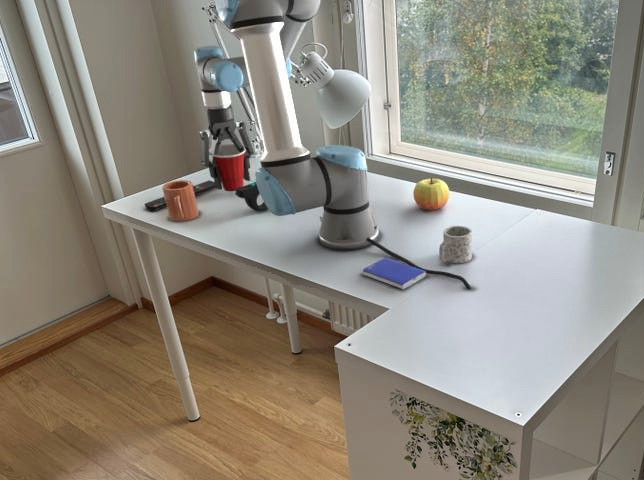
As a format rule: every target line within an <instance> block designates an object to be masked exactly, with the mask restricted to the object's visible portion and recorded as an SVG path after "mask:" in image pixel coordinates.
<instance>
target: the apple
mask: <svg viewBox="0 0 644 480" xmlns="http://www.w3.org/2000/svg"><path fill="white" fill-rule="evenodd" d="M449 199H450V188H449V187H448V185H447V183H446V182H445V181H444V180H441V179H438V178H432V177H431V178H427V179H426V178H425V179H422V180H420V181H418V182H416V184H415V186H414V189H413V200H414V202H415V204H416V205H417V206H418V207H419V208H421V209H424V210H426V211H435V210H439V209H441V208H443V207H444V206H446V204H447V203H448V201H449Z"/></svg>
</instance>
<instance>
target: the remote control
mask: <svg viewBox="0 0 644 480" xmlns="http://www.w3.org/2000/svg"><path fill="white" fill-rule="evenodd" d="M193 189H194V193H195V196H197V195H199V194H202V193H205V192H207V191H210V190H213V189H217V188H216V187H215V182H214V180H206V181H204V182H203V181H202V182H200V183H198V184H195V185H193ZM144 207H145V209H146V210H147V211H149V212H153V211H156V210H159V209H162V208H164V207H167V206H166V202H165V198H164V196H162V197H159V198H156V199H154V200H151V201H148V202H145V203H144Z"/></svg>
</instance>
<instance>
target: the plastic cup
mask: <svg viewBox="0 0 644 480" xmlns="http://www.w3.org/2000/svg"><path fill="white" fill-rule="evenodd" d="M242 146H243V147H244V145H242ZM210 149H211V147H209V155H211V156H213V157H214V158H215V159H216V164H215V166H217V167H218V169H219V174H220V179H221V184H222V189H223V190H224V191H225V192H236V189H237V188H239V187H242V186H244V178H243V176H244V153H245V151H246V149H245V147H244V148H243V152H241V153H240V152H239V151H238V150H237V148H236V147H235V145H234V144H233V143H224V144H222V143H221V144H220V146H219V150H218V155H213V154H211V153H210Z"/></svg>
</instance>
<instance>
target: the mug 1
mask: <svg viewBox="0 0 644 480" xmlns="http://www.w3.org/2000/svg"><path fill="white" fill-rule="evenodd" d="M193 186H194V184H193V182H192V181H190V180H187V179H186V180H183V179H182V180H181V179H180V180H173V181H169V182H166V183H164V184H163V185H162V186H161V188H162V195H163V197H164V198H165V202H166V206H165V207H166V209H167V210H166V211H167V214H168V216H169V219H170V220H171V221H173V222H188V221H191V220H193V219H196V218H197V217H199V208H198V202H197V198H196V195H195V193H194V189H193Z"/></svg>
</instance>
